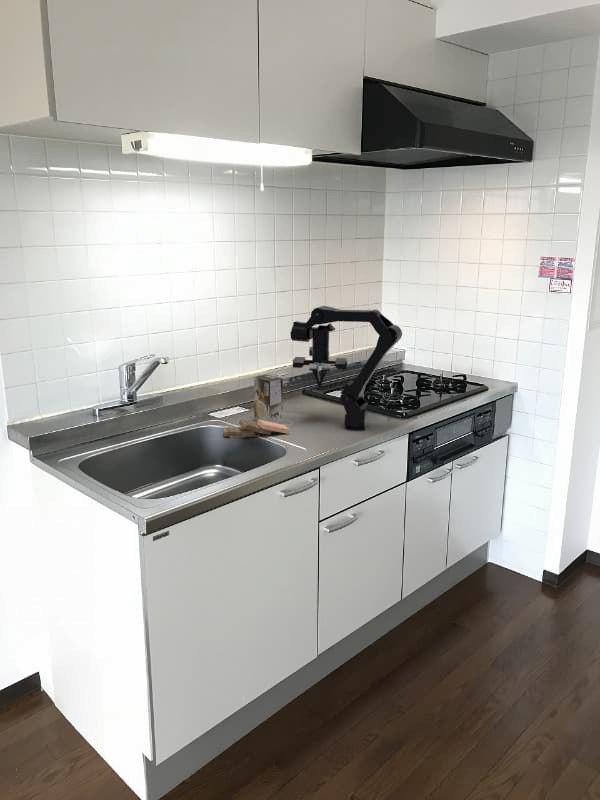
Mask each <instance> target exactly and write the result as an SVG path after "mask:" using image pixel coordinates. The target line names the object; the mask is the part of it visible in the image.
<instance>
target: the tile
mask: <svg viewBox="0 0 600 800" xmlns="http://www.w3.org/2000/svg"><path fill="white" fill-rule="evenodd" d="M256 423H257V424H258V425H259V426H260V427H261V428H263V429H266V430H271V431H272V432H278V433H282V434H287V435H288V434H290V431H291V429H290V428H289V427H287V426H286V425H285V424H283V423H273V422H268V421H263V420H259V419H258V421H256Z"/></svg>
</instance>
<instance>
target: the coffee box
mask: <svg viewBox="0 0 600 800" xmlns="http://www.w3.org/2000/svg"><path fill="white" fill-rule="evenodd" d="M283 380H284V378H282V377H277V376H273V375H271V374H262V375H257V376H253V399H254V400H253V401H254V402H253V406H254V407H253V409H254V410H253V411H254V414H253V415H254V417H253V418H254V421H255V420H256V421H255V422H258V419H259V420H263V421H268V422H273V423H278V424H283V419H284V418H283V417H284V415H283V413H284V412H283V411H284V407H283V406H284V405H283V404H284V401H283V400H284V398H283V395H284V392H283V391H284V383H283V382H284V381H283Z"/></svg>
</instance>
